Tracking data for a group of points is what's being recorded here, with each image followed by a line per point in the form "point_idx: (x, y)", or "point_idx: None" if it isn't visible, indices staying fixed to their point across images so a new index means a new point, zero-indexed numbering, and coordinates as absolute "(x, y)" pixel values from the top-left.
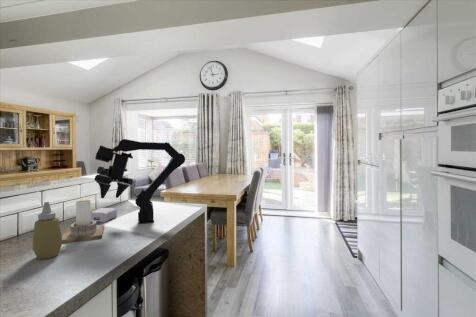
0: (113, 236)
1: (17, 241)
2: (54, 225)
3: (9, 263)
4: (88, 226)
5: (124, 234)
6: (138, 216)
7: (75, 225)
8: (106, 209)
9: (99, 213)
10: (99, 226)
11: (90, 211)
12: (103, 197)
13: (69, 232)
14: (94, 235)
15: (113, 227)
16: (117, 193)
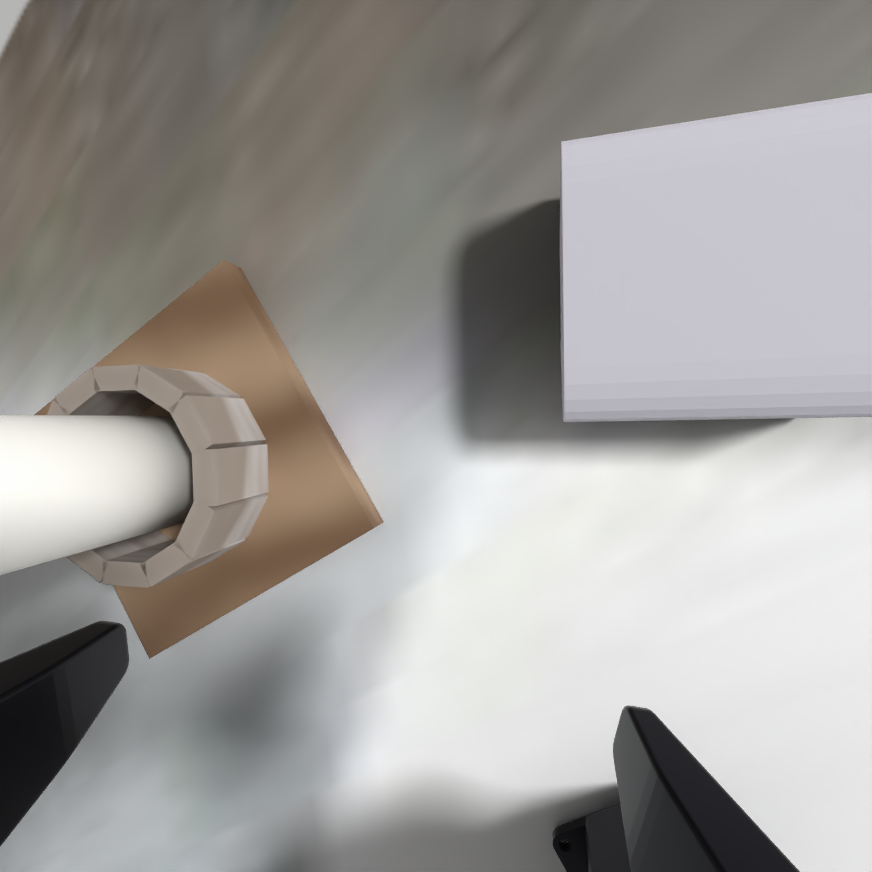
0: (211, 715)
1: (38, 94)
2: None
3: None
4: (85, 564)
5: (260, 783)
6: (589, 870)
7: (130, 392)
8: (779, 292)
9: (562, 322)
10: (328, 507)
11: (17, 567)
12: (92, 693)
13: (159, 356)
14: (137, 605)
15: (405, 603)
16: (667, 849)
